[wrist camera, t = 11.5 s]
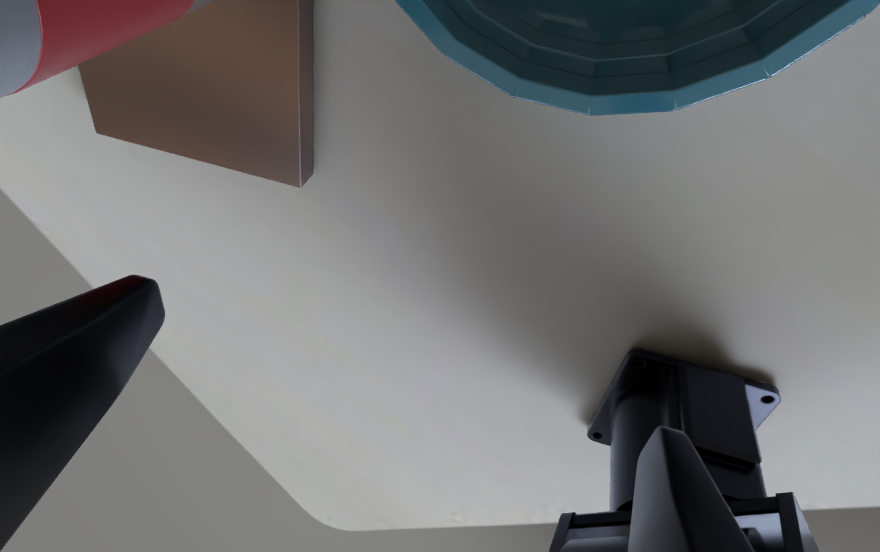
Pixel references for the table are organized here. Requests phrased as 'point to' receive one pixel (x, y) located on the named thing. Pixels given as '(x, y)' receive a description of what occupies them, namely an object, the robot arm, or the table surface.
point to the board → (216, 88)
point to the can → (72, 33)
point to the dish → (629, 46)
